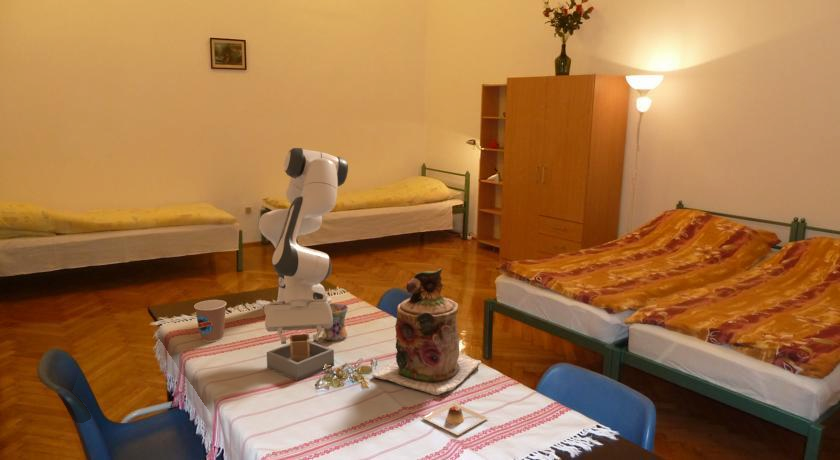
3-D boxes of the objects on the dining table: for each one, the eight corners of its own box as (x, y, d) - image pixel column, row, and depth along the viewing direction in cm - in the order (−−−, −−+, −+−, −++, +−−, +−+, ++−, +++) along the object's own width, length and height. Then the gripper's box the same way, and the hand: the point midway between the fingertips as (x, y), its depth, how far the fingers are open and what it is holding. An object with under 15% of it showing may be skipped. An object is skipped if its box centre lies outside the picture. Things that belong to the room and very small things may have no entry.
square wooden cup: (291, 360, 185) (290, 335, 183) (309, 358, 186) (308, 334, 184) (291, 368, 179) (290, 342, 177) (310, 366, 180) (309, 341, 178)
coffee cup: (189, 340, 203) (187, 306, 200) (213, 330, 212) (210, 297, 209) (212, 346, 198) (209, 311, 196) (235, 336, 207) (233, 302, 205)
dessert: (421, 421, 152) (421, 403, 151) (452, 405, 160) (453, 388, 159) (457, 439, 143) (458, 421, 142) (488, 421, 152) (489, 403, 151)
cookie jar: (413, 350, 195) (414, 254, 189) (483, 367, 183) (486, 264, 177) (369, 379, 174) (367, 271, 168) (444, 400, 162) (445, 284, 156)
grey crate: (303, 353, 192) (303, 338, 191) (334, 365, 183) (333, 349, 182) (267, 367, 181) (266, 352, 180) (297, 380, 173) (297, 364, 172)
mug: (353, 338, 205) (353, 308, 203) (330, 345, 199) (330, 314, 197) (334, 328, 214) (333, 300, 212) (311, 335, 208) (310, 305, 206)
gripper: (263, 297, 184) (263, 340, 176) (331, 294, 188) (334, 335, 180) (265, 307, 189) (264, 348, 181) (331, 303, 193) (333, 344, 185)
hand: (299, 342), depth 181 cm, fingers open, 8 cm apart
